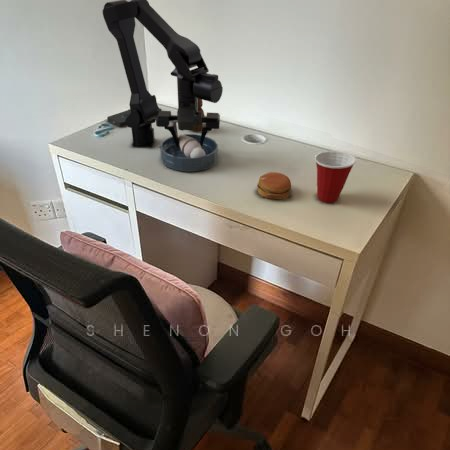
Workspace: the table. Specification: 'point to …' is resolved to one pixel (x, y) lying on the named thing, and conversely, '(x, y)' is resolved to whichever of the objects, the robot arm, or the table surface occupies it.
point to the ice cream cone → (190, 146)
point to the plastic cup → (332, 174)
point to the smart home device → (120, 118)
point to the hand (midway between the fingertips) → (189, 147)
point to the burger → (274, 185)
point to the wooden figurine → (200, 103)
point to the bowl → (178, 161)
